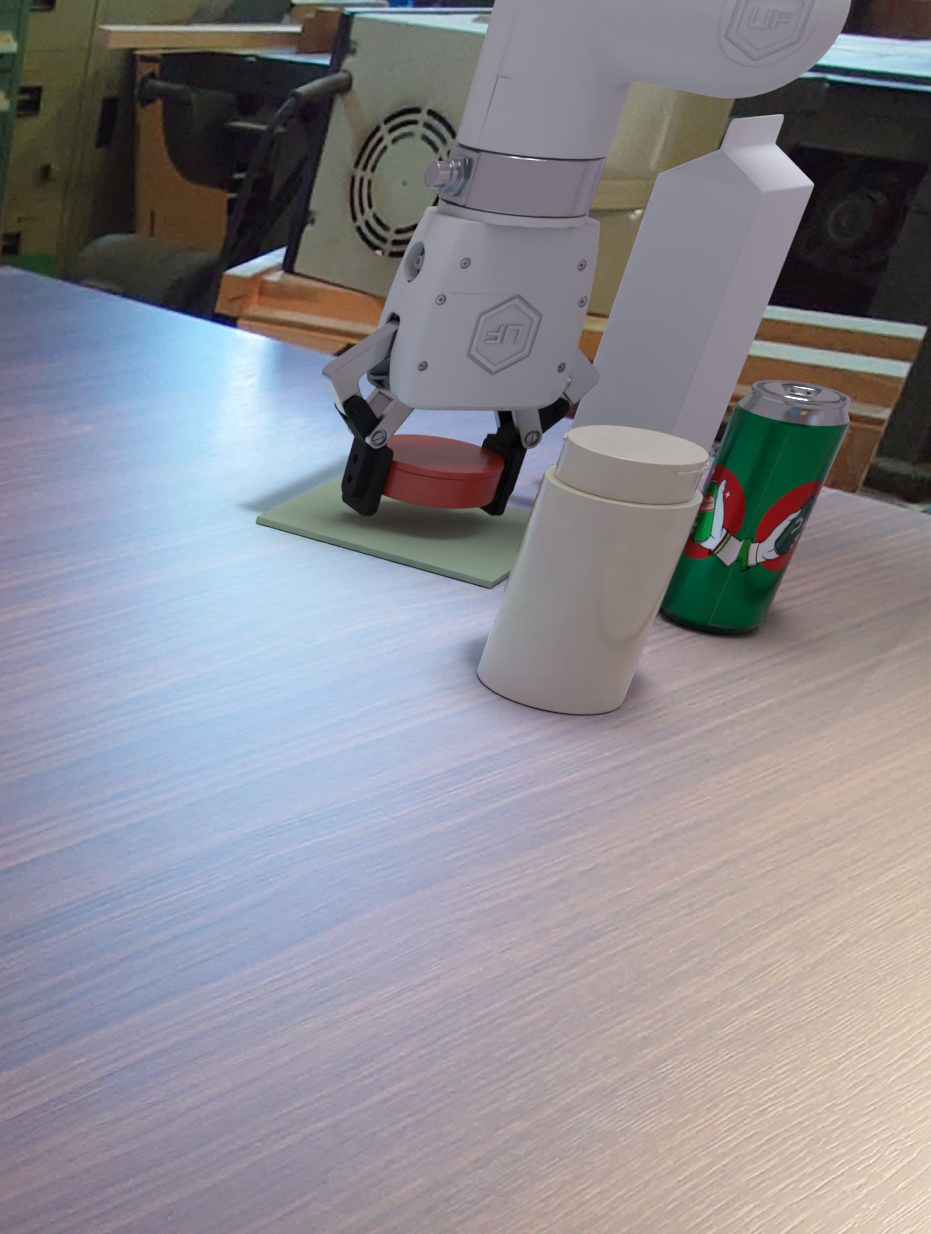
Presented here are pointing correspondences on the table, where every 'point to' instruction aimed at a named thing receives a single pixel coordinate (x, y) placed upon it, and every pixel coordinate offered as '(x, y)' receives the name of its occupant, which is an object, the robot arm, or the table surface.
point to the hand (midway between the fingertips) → (421, 506)
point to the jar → (593, 568)
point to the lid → (441, 472)
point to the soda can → (756, 504)
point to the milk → (698, 286)
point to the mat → (409, 533)
